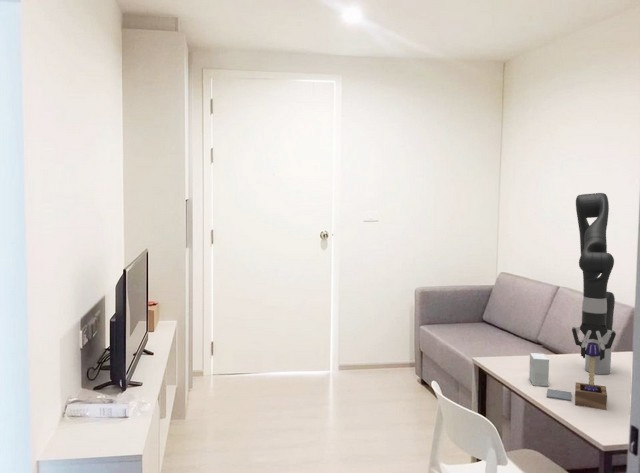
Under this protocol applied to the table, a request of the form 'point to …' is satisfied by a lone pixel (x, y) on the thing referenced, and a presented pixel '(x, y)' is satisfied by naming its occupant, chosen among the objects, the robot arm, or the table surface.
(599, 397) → the wooden cube shelf
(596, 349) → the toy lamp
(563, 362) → the table surface
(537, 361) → the small box
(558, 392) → the slate pad
